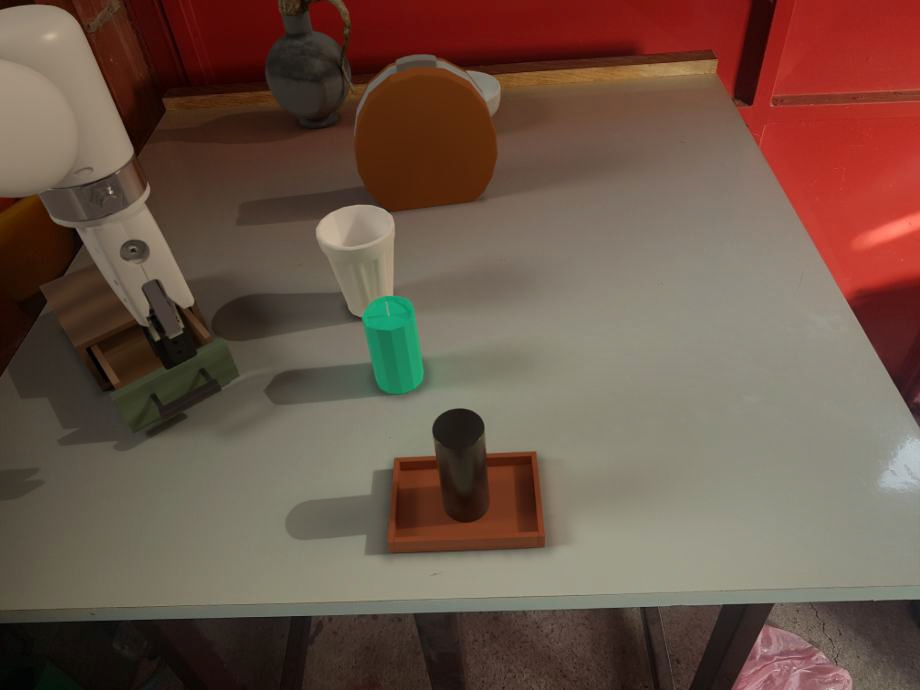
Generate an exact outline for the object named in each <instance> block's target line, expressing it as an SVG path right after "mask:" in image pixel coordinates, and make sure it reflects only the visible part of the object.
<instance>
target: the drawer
mask: <svg viewBox="0 0 920 690" xmlns="http://www.w3.org/2000/svg"><path fill="white" fill-rule="evenodd" d="M175 307H176V309H177V312H178V314H179V316H180V318H181V320H182V321H183V323H184V324H185V326H186V328H187V331H188V333H189V335H190V337H191V339H192V342H193V344H194V346H195V348H196V350H197V355H196V356H195V357H193V358H191V359H189V360H187V361H185V362H183V363H181V364H180V365H178V366H176V367H174V368H172V369H169V370H166V369H165V368H164V366H163V365H162V363H161V361H160V359H159V357H157V356H156V355H155V354H154V352H153V350H152V348H151V346H150V344H149V342H148V340H147V339H146V337H145V335H144V333H143V331H142V329H141V327H140V324H139V323H138V324H136V325H134V326H132V327H130V328H128V329H126V330H123V331H121V332H119V333H117V334H115V335H113V336H111V337H109V338H106V339H104V340H102V341H100V342H98V343H96V344H94V345H92V346H90V348H91V350H92V352H93V353H94V355H95V357H96V358H97V360H98V362H99V363H100V365H101V367H102V368H103V370H104V371H105V373H106V375H107V376H108V378H109V380H110V381H111V383H112V384H113V386H112V387H113V388H114V389H115V390H114V391H112V392H111V393H109V396H110V397H111V399H112V401H113V402H114V404H115V406H116V407H117V409H118V410H119V411H118V412H120V413H121V416H122V417H123V418H124V420H125V423H126V424H127V426H128V427H129V429H130V430H131V432H132V433H133V434H135V433H137V432H140V431H141V430H143V429H145V428H147V427H148V426H151V425H153V424H154V423H156V422H157V421H159V420H161V419H162V421H163V422H167V421H169V420H170V419H172V418H174V417H177V416H178V415H180V414H182V413H184V412H186V411H187V410H189V409H191V408H192V407H194V406H196V405H198V404H201V403H202V402H203V401H205V400H208V399H210V398H212V396H214V395H216V394H218V393H220V392H222V391H223V388H222V387H223V386H225V385H227V384H228V383H230V382H232V381H233V380H235V379H237V378H240V377H241V375H240V372H239V370H238V368H237V365H236V362H235V360H234V359H233V356H232V353H231V351H230V349H229V346H228V344H227V342H226V340H225V339H224V338H223V337H222V336H220V337H219V338H217V339H215V340H213V336H212V335H211V333H210V332H209V333H210V334H209V333H208V331H207V330H206V329H205V328H204V327H203V325H202V324H201V323H200V322H199V321H198V319H197V318H196V317H195V316H194V315H193V313H192V312H191V311H190V310H189V309H188V308H186V309H183V308H182V307H181V306H179V305H176V306H175Z"/></svg>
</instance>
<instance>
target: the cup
mask: <svg viewBox="0 0 920 690" xmlns="http://www.w3.org/2000/svg"><path fill="white" fill-rule="evenodd" d="M393 217H394V216H393V215H392V214H391V213H389V212H388V211H387V209H386V208H382V207H379V206H376V205H373V204H355V205H349V206H343V207H341V208H338V209H336V210H334V211H332V212H329V213H328V214H327V215H326V216H324V217H323V218H321V219H320V221H319V223H318V224H317V226H316V228H315V237H316V240H317V243H318V246H319V248H320V250H321V251H322V252H323V254H324V255H325V256H326V257H327V260H328V262H329V265H330V266H331V269H332V271H333V275H334V276H335V278H336V280H337V283H338V286H339V288H340V290H341V292H342V295H343V298H344V300H345V302H346V305H347V308H348V310H349V311H350V313H351V314H352V315H354V316H357V317H359V318H362V315H363V313H364V311H365V309H366V308H367V307H368V306H369V305H370V304H371V302H372V301H373V300H376V299H378V298H381V297H383V296H394V262H395V261H394V257H395V255H394V254H395V251H394V249H395V237H396V227H395V226H396V225H395V221H394V218H393Z"/></svg>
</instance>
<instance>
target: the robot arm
mask: <svg viewBox="0 0 920 690" xmlns="http://www.w3.org/2000/svg"><path fill="white" fill-rule="evenodd" d="M130 139H131V138H130V136H129V134H128V132H127V130H126V127H125V125H124V123H123V121H122V118H121V116H120V113H119V110H118V109H117V106H116V104H115V102H114V100H113V97H112V94H111V92H110V89H109V88H108V85H107V83H106V81H105V78H104V76H103V74H102V71H101V69H100V67H99V65H98V62H97V60H96V57H95V56H94V53H93V50H92V47H91V46H90V43H89V41H88V39H87V37H86V35H85V32H84V30H83V28H82V26H81V24H80V23H79V22H78V20H77V19H76V18H75V16H73V15H72V14H71V13H69V12H68V11H67V10H66V9H63V8H61V7H58V6H55V5H49V4H25V5H17V6H11V7H6V8H3V9H0V198H10V199H13V198H27V197H32V196H35V195H37V196H38V197H39V199H40V201H41V202H42V204H43V206H44V208H45V210H46V211H47V213H48V215H49V217H50V219H51V220H52V221H53V222H54V223H55V224H57V225H58V226H62V227H65V228H71V229H72V228H73V229H75V230H76V231H77V233H78V235H79V237H80V239H81V241H82V242H83V244H84V246H85V248H86V250H87V251H88V253H89V255H90V257H91V259H92V260H93V263H96V265H97V267H98V268H99V270H100V271H101V273H102V275H103V276H104V278H105V279H106V281H107V282H108V284H109V285H110V286H111V288H112V289H113V291H114V292H115V293H116V295H117V296H118V297H119V299H120V300H121V301H122V303H123V304H124V305H125V306H126V308H127V309H128V310H129V312H130V313H131V314H132V315H133V317H134V318H135V319H136V321H137V322H138V323H139V324H140V327H141V329H142V331H143V333H144V335H145V337H146V339H147V340H148V342H149V344H150V346H151V348H152V350H153V352H154V354H155V355H156V356H157V357H159V359H160V361H161V363H162V365H163V366H164V368H165V369H166V370H169V369H172V368H174V367H176V366H178V365H180V364H181V363H183V362H185V361H187V360H189V359H191V358H193V357H195V356H196V355H197V350H196V348H195V346H194V344H193V342H192V339H191V337H190V335H189V333H188V331H187V328H186V326H185V324H184V323H183V321H182V320H181V318H180V316H179V314H178V312H177V309H176V307H175V304H174V303H173V301H174V302H175V303H177V304H178V305H179V306H181V307H182V308H183V309H186V308H188V307H191V306H193V304H194V298H195V297H194V298H193V296H194V295H193V296H192V294H191V292H192V291H191V292H190V290H191V289H190V287H189V286H188V284H187V281H186V280H185V277H184V275H183V273H182V271H181V269H180V267H179V265H178V264H177V261H176V259H175V257H174V255H173V253H172V251H171V249H170V246H169V245H168V242H167V241H166V238H165V237H164V235H163V233H162V231H161V229H160V227H159V225H158V223H157V222H156V220H155V218H154V216H153V215H152V213H151V211H150V209H149V208H148V206H147V204H146V201H147V200H148V198H149V196H150V194H151V186H150V184H149V182H148V179H147V177H146V174H145V171H144V169H143V167H142V165H141V162H140V160H139V157H138V156H137V153H136V151H135V148H134V146H133V144H132V142H131V140H130ZM189 289H190V290H189ZM172 300H173V301H172Z"/></svg>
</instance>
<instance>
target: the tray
mask: <svg viewBox="0 0 920 690" xmlns="http://www.w3.org/2000/svg"><path fill="white" fill-rule="evenodd" d="M486 453H487V452H486ZM487 468H488V482H489V497H490V505H489V508H488V510H487V512H486V513H485V515H484V516H482V517H481V518H480V519H478V520H476V521H473V522H467V523H464V522H458V521H455V520H454V519H452V518H450V517H449V516H448V515H447V513H446V512H445V510H444V506H443V500H442V494H441V487H440V480H439V474H438V467H437V460H436V455H424V456H423V455H422V456H421V455H420V456H401V457H393V468H392V481H391V493H390V504H389V516H388V517H389V518H388V531H387V541H386V542H387V546H388V550H389V553H390V554H393V553H416V552H417V553H418V552H444V551H445V552H446V551H469V550H470V551H471V550H495V549H520V548H545V547H546V529H545V521H544V512H543V511H544V510H543V503H542V501H543V500H542V492H541V483H540V473H539V464H538V453H537V450H535V451H534V450H533V451H510V452H490V453H489V452H488V453H487Z"/></svg>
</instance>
